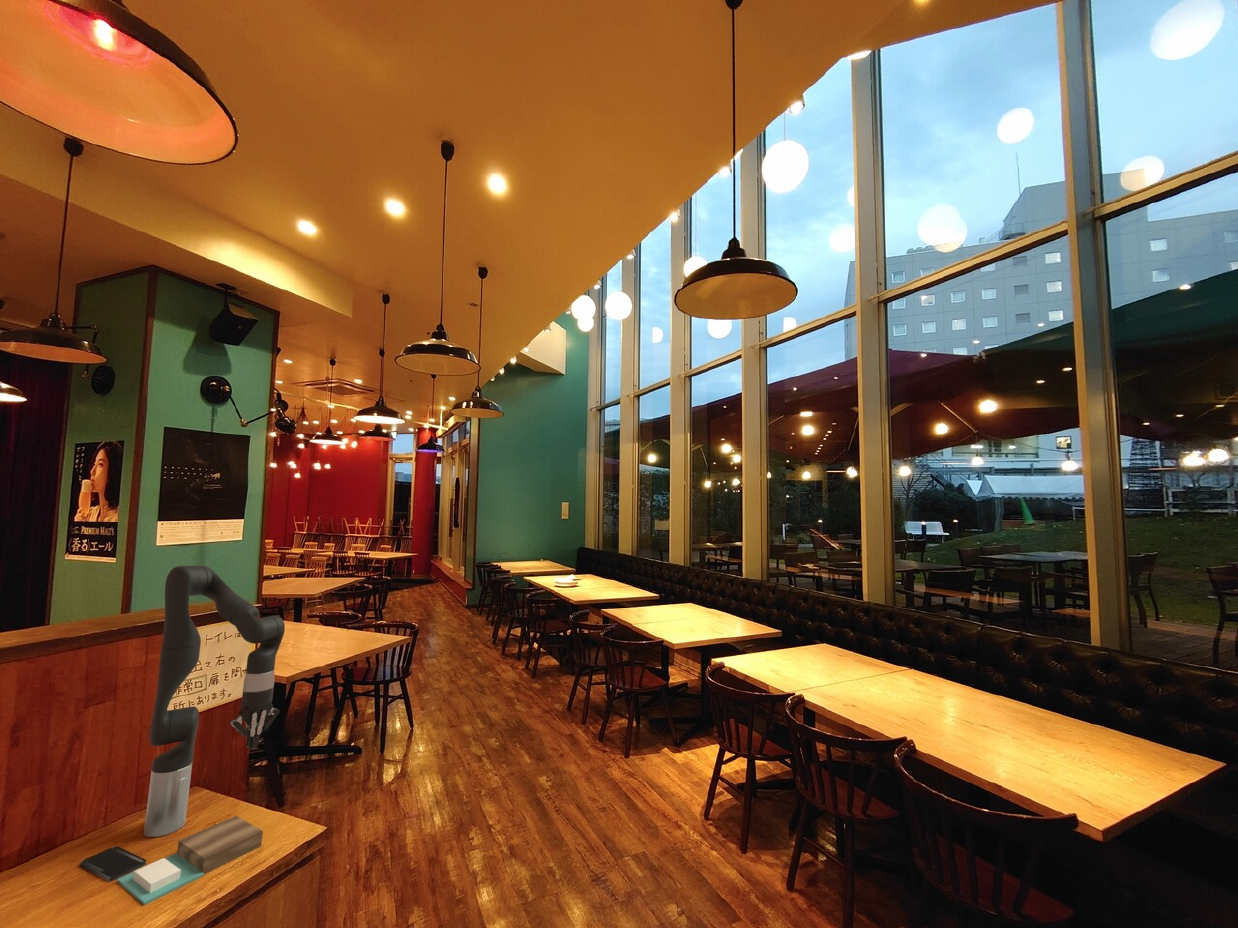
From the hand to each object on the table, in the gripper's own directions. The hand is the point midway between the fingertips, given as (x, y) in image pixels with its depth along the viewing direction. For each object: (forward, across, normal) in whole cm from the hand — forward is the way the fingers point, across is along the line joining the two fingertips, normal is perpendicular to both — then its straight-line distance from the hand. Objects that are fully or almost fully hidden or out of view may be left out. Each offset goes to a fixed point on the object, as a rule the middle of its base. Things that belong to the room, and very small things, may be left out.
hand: (252, 747), depth 153 cm
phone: (+25, +24, -14) cm, 37 cm away
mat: (+24, +20, +2) cm, 31 cm away
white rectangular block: (+22, +21, +3) cm, 31 cm away
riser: (+24, +7, +2) cm, 25 cm away
